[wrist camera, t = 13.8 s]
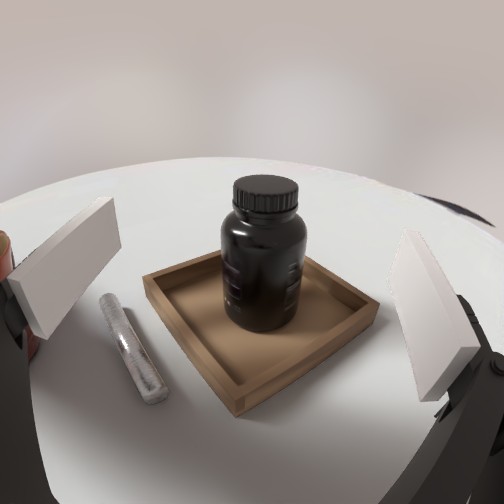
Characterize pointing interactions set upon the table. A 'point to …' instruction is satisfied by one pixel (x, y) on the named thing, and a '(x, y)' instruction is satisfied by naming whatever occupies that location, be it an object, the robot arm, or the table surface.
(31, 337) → the mug
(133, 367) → the pin
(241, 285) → the supplement bottle
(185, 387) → the table surface
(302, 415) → the table surface
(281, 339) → the tray
